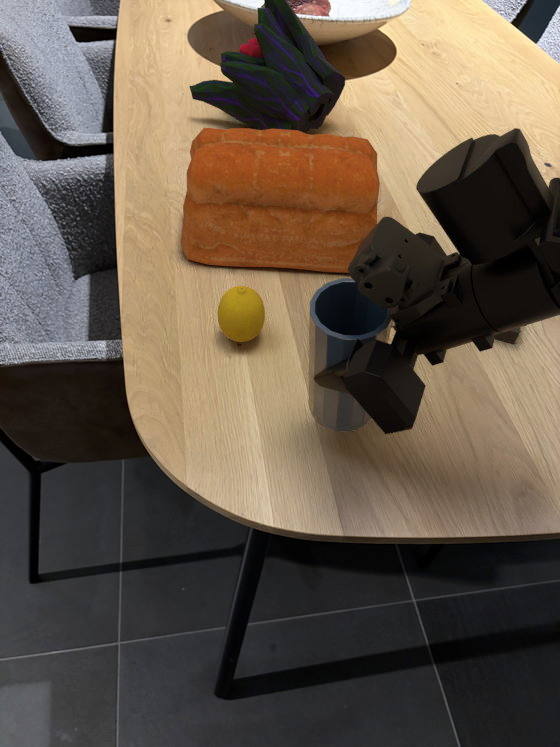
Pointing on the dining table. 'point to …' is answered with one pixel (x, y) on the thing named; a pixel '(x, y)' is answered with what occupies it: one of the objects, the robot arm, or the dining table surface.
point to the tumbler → (340, 347)
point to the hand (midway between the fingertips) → (329, 352)
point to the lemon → (241, 313)
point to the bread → (278, 199)
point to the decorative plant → (275, 76)
